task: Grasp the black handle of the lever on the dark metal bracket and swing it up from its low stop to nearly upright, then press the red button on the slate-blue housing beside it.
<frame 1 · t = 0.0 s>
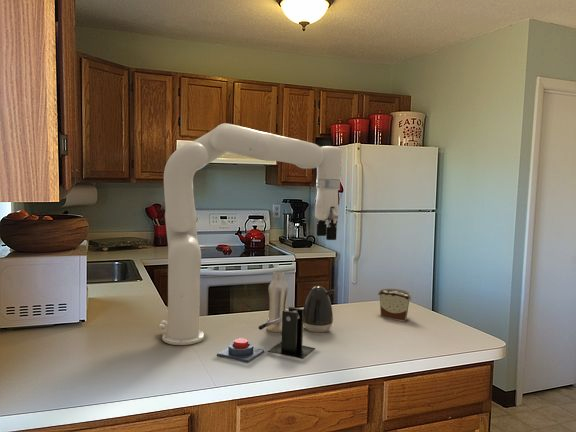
hand: (326, 237, 156), 31 cm above the countertop, tool pointing down, fingers open, 9 cm apart
button: (241, 343, 133), point 4 cm above the countertop, slide at 0.1 cm
button box: (240, 357, 134), on the countertop
lever: (279, 320, 139), point 9 cm above the countertop, hinge at -25.0°
bracket: (291, 353, 138), on the countertop
dark grey tapered dome: (317, 331, 158), on the countertop
food container: (395, 317, 177), on the countertop
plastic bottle: (276, 333, 156), on the countertop
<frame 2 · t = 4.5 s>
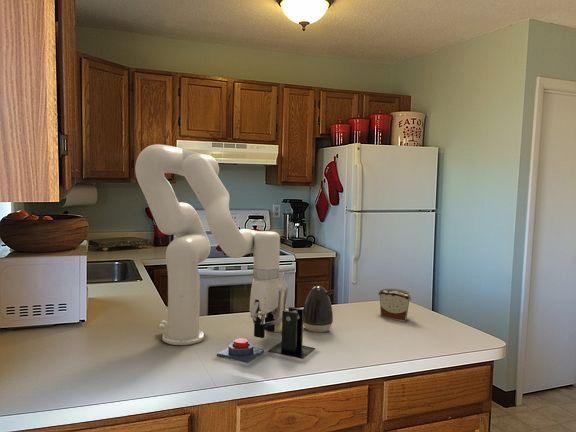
hand: (264, 333, 141), 4 cm above the countertop, tool pointing down, fingers closed on lever, 5 cm apart
lever: (279, 320, 139), point 9 cm above the countertop, hinge at -25.0°, touching gripper
everything else where it was.
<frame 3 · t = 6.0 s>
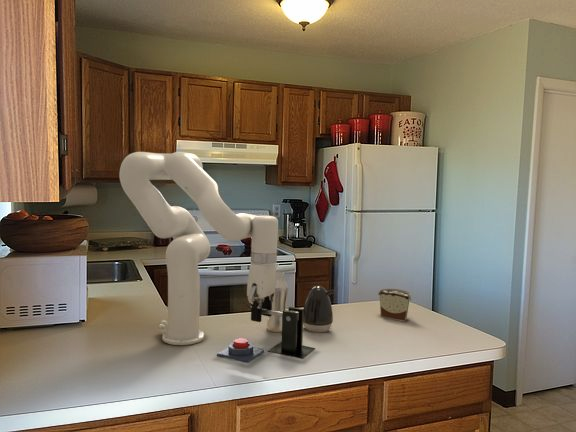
hand: (261, 317, 141), 9 cm above the countertop, tool pointing down, fingers closed on lever, 5 cm apart
lever: (278, 313, 139), point 11 cm above the countertop, hinge at 0.0°, touching gripper
everything else where it was.
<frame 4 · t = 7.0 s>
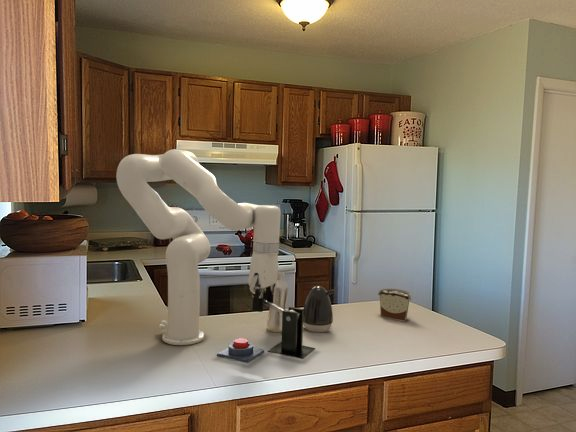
hand: (262, 307, 141), 12 cm above the countertop, tool pointing down, fingers closed on lever, 5 cm apart
lever: (279, 309, 139), point 12 cm above the countertop, hinge at 16.3°, touching gripper
everything else where it was.
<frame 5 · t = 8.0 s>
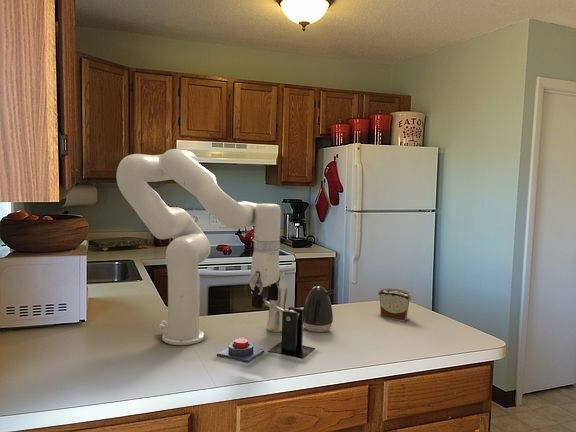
hand: (265, 303, 141), 13 cm above the countertop, tool pointing down, fingers open, 9 cm apart
lever: (279, 309, 139), point 12 cm above the countertop, hinge at 16.2°
everything else where it was.
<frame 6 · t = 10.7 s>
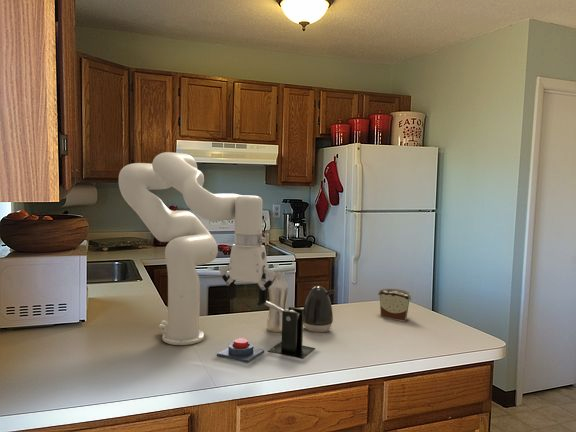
hand: (247, 300, 134), 16 cm above the countertop, tool pointing down, fingers open, 9 cm apart
nothing on the countertop moved.
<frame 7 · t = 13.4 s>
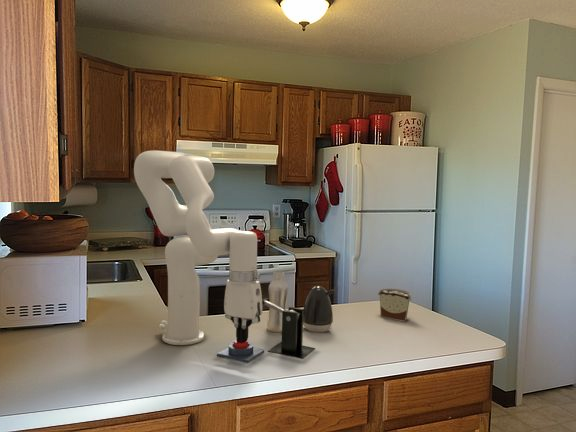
hand: (242, 341, 133), 5 cm above the countertop, tool pointing down, fingers closed
button: (241, 343, 133), point 4 cm above the countertop, slide at 0.0 cm, touching gripper
everything else where it was.
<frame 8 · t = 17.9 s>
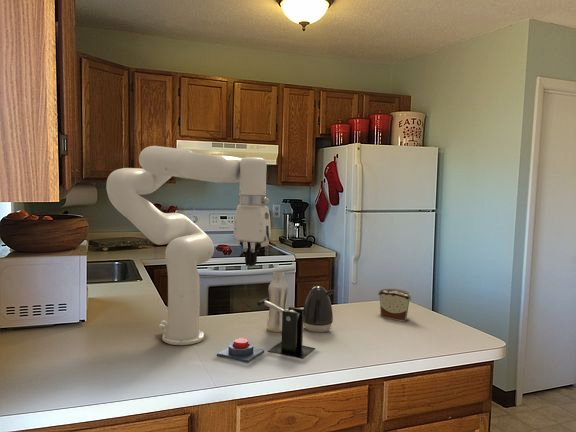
hand: (250, 265, 137), 25 cm above the countertop, tool pointing down, fingers closed
button: (241, 343, 133), point 4 cm above the countertop, slide at 0.1 cm
everything else where it was.
at the end: lever at +16° (first picture: -25°); button pushed in 1.1 cm at the most during the clip and back out by the end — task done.
